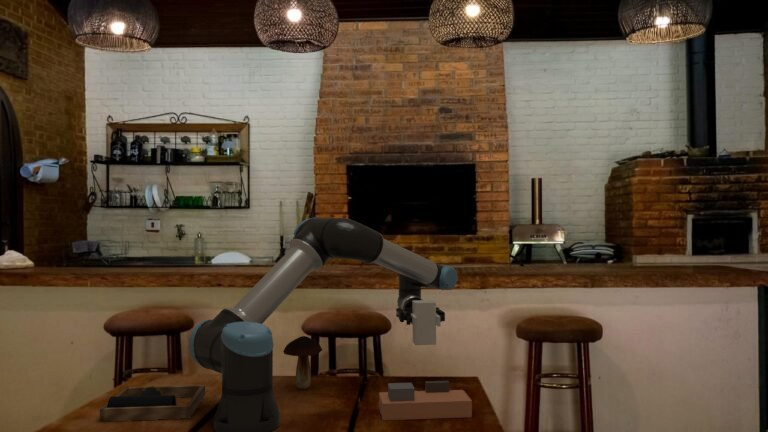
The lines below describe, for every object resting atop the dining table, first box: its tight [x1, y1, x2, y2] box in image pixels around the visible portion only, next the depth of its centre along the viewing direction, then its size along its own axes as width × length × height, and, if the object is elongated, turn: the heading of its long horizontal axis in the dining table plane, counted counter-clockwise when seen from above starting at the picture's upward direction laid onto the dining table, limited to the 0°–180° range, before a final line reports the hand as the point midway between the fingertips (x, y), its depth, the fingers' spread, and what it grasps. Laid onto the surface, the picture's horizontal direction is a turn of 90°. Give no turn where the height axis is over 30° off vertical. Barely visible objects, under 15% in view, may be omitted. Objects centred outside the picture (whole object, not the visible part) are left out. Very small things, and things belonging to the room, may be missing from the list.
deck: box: [378, 380, 473, 421], centre depth 148 cm, size 22×16×7 cm
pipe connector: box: [106, 385, 177, 408], centre depth 146 cm, size 12×5×15 cm
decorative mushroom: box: [282, 335, 323, 390], centre depth 165 cm, size 11×11×15 cm
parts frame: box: [99, 384, 206, 423], centre depth 148 cm, size 21×18×3 cm
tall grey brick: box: [412, 299, 437, 346], centre depth 167 cm, size 6×5×12 cm
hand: (427, 321), depth 162 cm, fingers closed on tall grey brick, 6 cm apart
